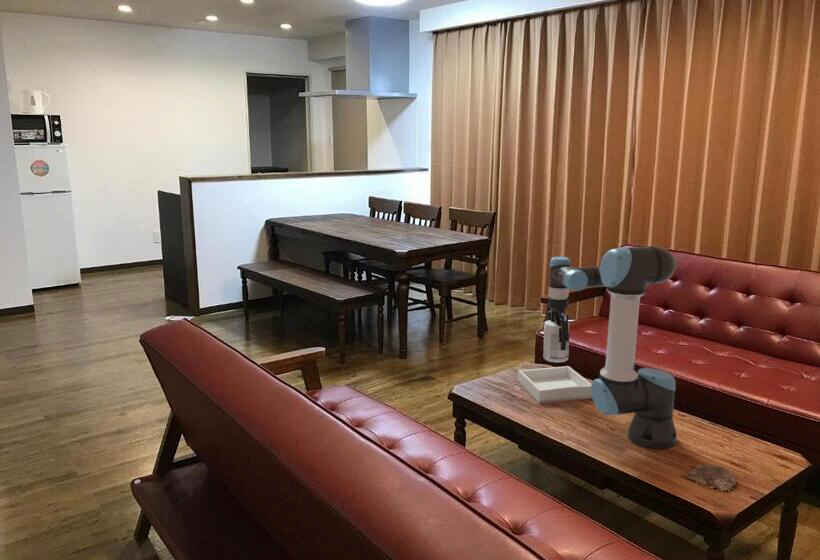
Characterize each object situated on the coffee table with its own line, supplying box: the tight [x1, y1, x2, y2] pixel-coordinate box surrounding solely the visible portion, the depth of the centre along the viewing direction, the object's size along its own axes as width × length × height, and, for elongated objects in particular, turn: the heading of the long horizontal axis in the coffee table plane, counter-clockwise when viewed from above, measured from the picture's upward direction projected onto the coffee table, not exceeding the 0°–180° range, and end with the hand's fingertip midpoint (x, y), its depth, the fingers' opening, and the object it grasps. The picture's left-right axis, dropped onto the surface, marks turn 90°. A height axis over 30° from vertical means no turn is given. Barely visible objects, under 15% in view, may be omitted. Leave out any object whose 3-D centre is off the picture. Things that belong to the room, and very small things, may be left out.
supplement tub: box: [542, 320, 570, 363], centre depth 253 cm, size 10×10×15 cm
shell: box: [684, 463, 737, 491], centre depth 191 cm, size 12×13×4 cm
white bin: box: [517, 365, 593, 404], centre depth 257 cm, size 22×22×5 cm
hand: (555, 353), depth 254 cm, fingers closed on supplement tub, 10 cm apart
